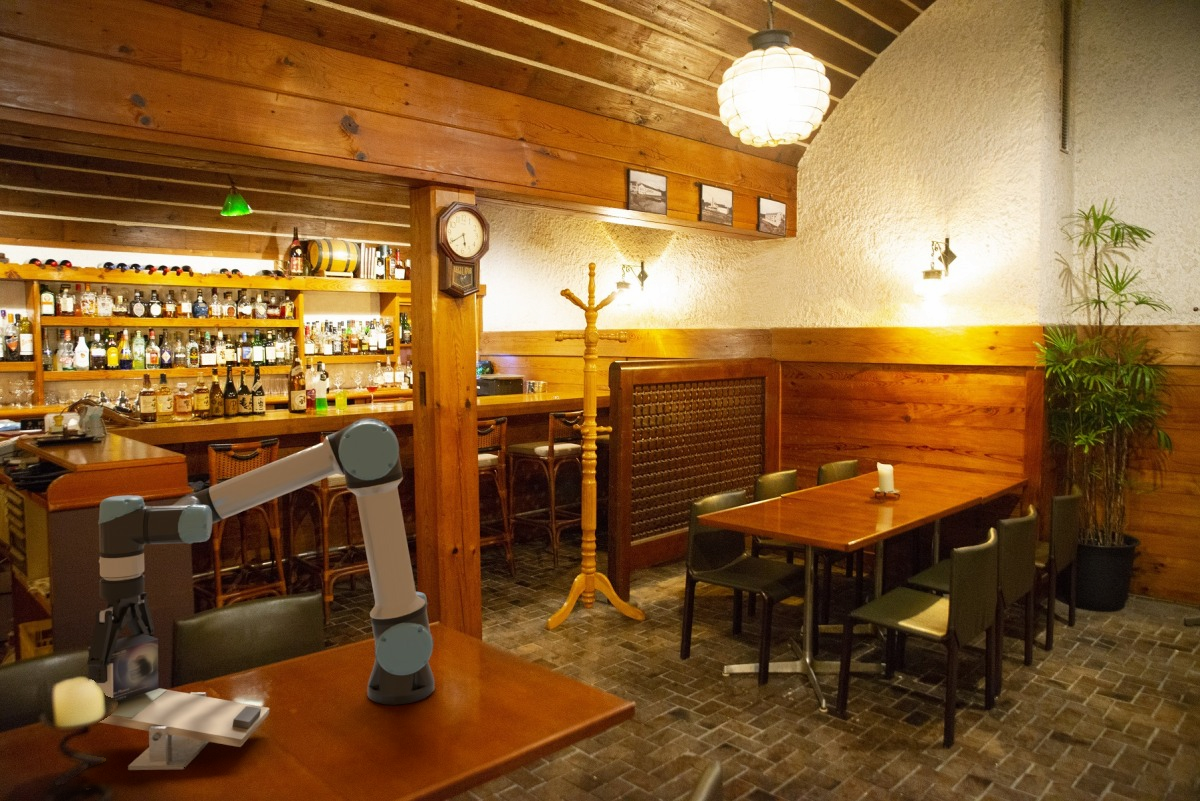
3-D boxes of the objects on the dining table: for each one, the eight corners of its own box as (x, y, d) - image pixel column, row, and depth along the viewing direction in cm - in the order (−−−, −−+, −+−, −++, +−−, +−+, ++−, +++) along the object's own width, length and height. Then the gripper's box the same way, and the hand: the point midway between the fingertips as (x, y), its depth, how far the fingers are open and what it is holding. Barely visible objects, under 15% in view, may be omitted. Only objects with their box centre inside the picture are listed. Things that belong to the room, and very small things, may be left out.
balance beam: (268, 715, 164) (271, 701, 164) (240, 747, 150) (243, 731, 150) (122, 689, 163) (125, 674, 163) (80, 719, 149) (83, 703, 149)
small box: (104, 708, 149) (103, 653, 149) (87, 700, 153) (85, 647, 153) (160, 689, 158) (159, 637, 158) (142, 682, 162) (141, 631, 162)
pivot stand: (224, 726, 166) (224, 690, 165) (183, 769, 148) (182, 729, 147) (176, 726, 165) (175, 691, 165) (128, 770, 147) (127, 730, 147)
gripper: (136, 560, 167) (137, 662, 167) (63, 592, 143) (64, 711, 144) (172, 560, 167) (173, 662, 168) (106, 592, 143) (107, 711, 144)
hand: (123, 685), depth 156 cm, fingers closed on small box, 12 cm apart
